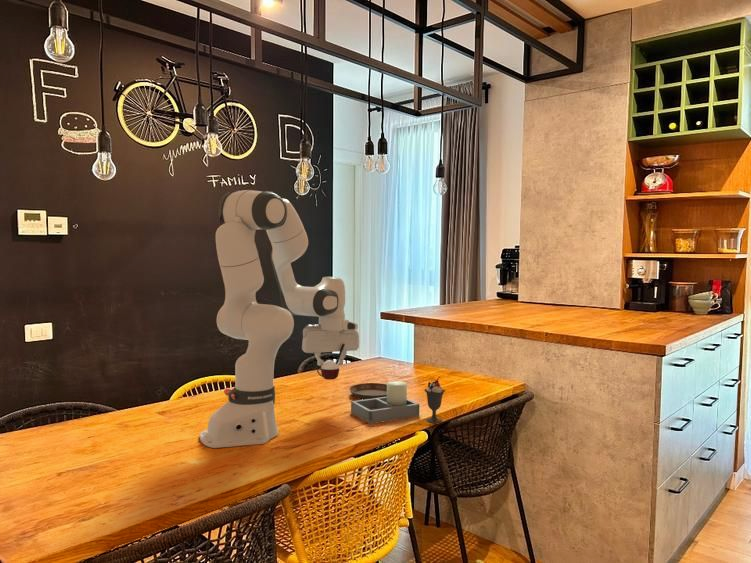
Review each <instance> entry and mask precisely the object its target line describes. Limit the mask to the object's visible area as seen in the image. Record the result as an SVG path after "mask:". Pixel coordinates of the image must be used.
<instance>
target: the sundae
mask: <svg viewBox="0 0 751 563" xmlns="http://www.w3.org/2000/svg"><path fill="white" fill-rule="evenodd" d="M439 379H441V376H438V378H437V379H436V380H434V381H432V382H430V381H428V385H427V388H424V392H425V393H426V399H427V406H428V408H429V409H430V410H431V411H432V412H431V413H432V414H431V417H429V418H427V419H426V420H425V421H426V422H428V423H431V424H439V423H441V422H442V419H441V418H438V417H437V410H439V409H440V408H441V405H442V399H443V395H444V394H445V392H446V390H445V389H442V388H443V387H442V386H441V383H440V381H439Z"/></svg>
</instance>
